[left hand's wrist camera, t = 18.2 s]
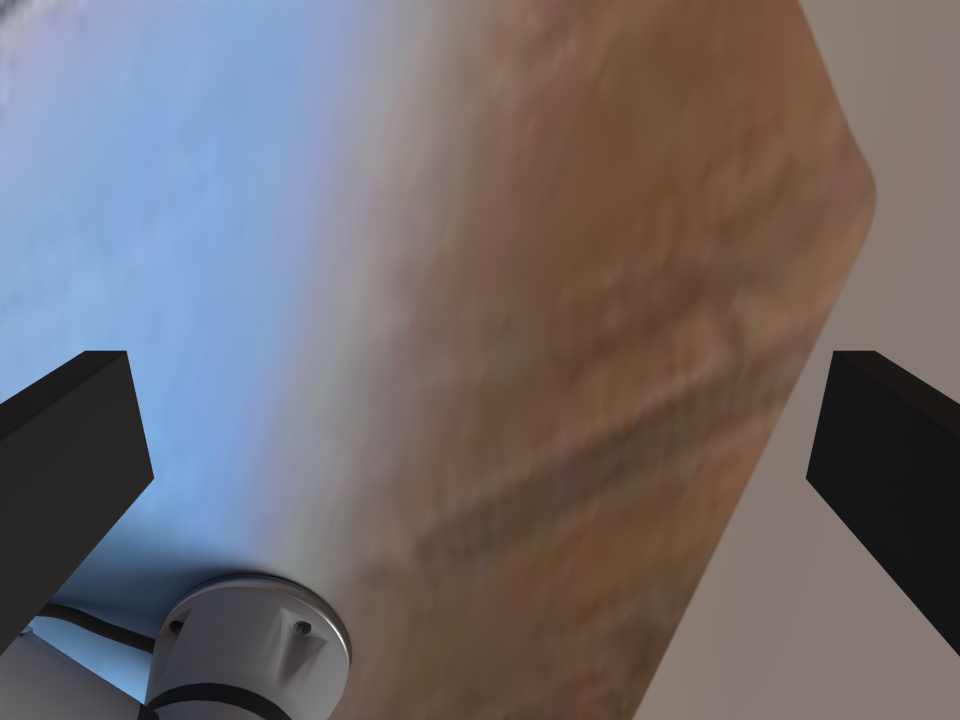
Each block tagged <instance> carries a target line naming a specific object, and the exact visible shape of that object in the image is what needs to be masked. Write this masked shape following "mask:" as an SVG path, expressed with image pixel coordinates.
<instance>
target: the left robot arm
mask: <svg viewBox="0 0 960 720" xmlns="http://www.w3.org/2000/svg"><path fill="white" fill-rule="evenodd" d="M153 479H154V475H153V471H152V466H151V461H150V457H149V452H148V448H147V443H146V438H145V434H144V429H143V425H142V420H141V415H140V411H139V406H138V402H137V397H136V392H135V388H134V383H133V379H132V374H131V369H130V365H129V360H128V356H127V351H84V352H82V353H81V354H79V355H78V356H76V357H74V358H73V359H71V360H70V361H68V362H66V363H65V364H63V365H62V366H60V367H59V368H57V369H55V370H54V371H52V372H51V373H49V374H47V375H46V376H44V377H43V378H41V379H40V380H38V381H36V382H35V383H33V384H32V385H30V386H28V387H27V388H25V389H24V390H22V391H20V392H19V393H17V394H16V395H14V396H13V397H11V398H9V399H8V400H6V401H5V402H3V403H1V404H0V720H327V719H328V717H329V716H330V714H331V713H332V711H333V709H334V708H335V706H336V705H337V703H338V702H339V700H340V698H341V696H342V693H343V691H344V689H345V686H346V684H347V680H348V675H349V671H350V667H351V662H352V647H351V641H350V638H349V635H348V632H347V630H346V628H345V626H344V624H343V622H342V621H341V619H340V618H339V617H338V615H337V614H336V613H335V612H334V611H333V609H332V608H331V607H330V606H329V605H328V604H326V603H325V602H324V601H323V600H322V599H320V598H319V597H318V596H316V595H315V594H313V593H312V592H310V591H308V590H306V589H305V588H303V587H301V586H298V585H296V584H294V583H291V582H289V581H286V580H282V579H279V578H275V577H270V576H265V575H256V574H236V575H228V576H223V577H218V578H215V579H212V580H209V581H206V582H204V583H201V584H199V585H198V586H196V587H194V588H192V589H191V590H189V591H188V592H187V593H185V594H184V595H183V596H182V597H181V598H180V599H179V600H178V601H177V602H176V604H175V605H174V606H173V608H172V609H171V611H170V612H169V614H168V616H167V617H166V619H165V621H164V623H163V624H162V626H161V629H160V631H159V634H158V636H157V639H156V640H155V639H152V638H149V637H147V636H144V635H141V634H138V633H135V632H132V631H129V630H127V629H124V628H121V627H118V626H115V625H112V624H110V623H107V622H105V621H102V620H100V619H98V618H96V617H93V616H91V615H89V614H87V613H85V612H82V611H80V610H77V609H74V608H71V607H67V606H63V605H57V604H46V603H47V602H48V601H49V600H50V598H51V597H52V596H53V595H54V594H55V593H56V592H57V590H58V589H59V588H60V587H61V586H62V585H63V583H64V582H65V581H66V580H67V579H68V578H69V577H70V575H71V574H72V573H73V572H74V571H75V570H76V568H77V567H78V566H79V565H80V564H81V563H82V561H83V560H84V559H85V558H86V557H87V556H88V555H89V553H90V552H91V551H92V550H93V549H94V548H95V546H96V545H97V544H98V543H99V542H100V541H101V540H102V538H103V537H104V536H105V535H106V534H107V533H108V531H109V530H110V529H111V528H112V527H113V526H114V524H115V523H116V522H117V521H118V520H119V519H120V518H121V516H122V515H123V514H124V513H125V512H126V511H127V509H128V508H129V507H130V506H131V505H132V504H133V503H134V501H135V500H136V499H137V498H138V497H139V496H140V494H141V493H142V492H143V491H144V490H145V489H146V487H147V486H148V485H149V484H150V483H151V482H152V481H153ZM806 479H807V481H808V482H809V483H810V484H811V485H812V486H813V487H814V489H815V490H816V491H817V492H818V493H819V494H820V496H821V497H822V498H823V499H824V500H825V501H826V502H827V504H828V505H829V506H830V507H831V508H832V509H833V511H834V512H835V513H836V514H837V515H838V516H839V517H840V519H841V520H842V521H843V522H844V523H845V524H846V526H847V527H848V528H849V529H850V530H851V531H852V533H853V534H854V535H855V536H856V537H857V538H858V539H859V541H860V542H861V543H862V544H863V545H864V546H865V548H866V549H867V550H868V551H869V552H870V553H871V555H872V556H873V557H874V558H875V559H876V560H877V561H878V563H879V564H880V565H881V566H882V567H883V568H884V570H885V571H886V572H887V573H888V574H889V575H890V577H891V578H892V579H893V580H894V581H895V582H896V583H897V585H898V586H899V587H900V588H901V589H902V590H903V592H904V593H905V594H906V595H907V596H908V597H909V598H910V600H911V601H912V602H913V603H914V604H915V605H916V607H917V608H918V609H919V610H920V611H921V612H922V614H923V615H924V616H925V617H926V618H927V619H928V620H929V622H930V623H931V624H932V625H933V626H934V627H935V629H936V630H937V631H938V632H939V633H940V634H941V635H942V637H943V638H944V639H945V640H946V641H947V642H948V643H949V645H950V646H951V647H952V648H953V649H954V650H955V652H956V653H957V654H958V655H959V656H960V404H959V403H957V402H955V401H954V400H952V399H951V398H949V397H947V396H946V395H944V394H943V393H941V392H940V391H938V390H936V389H935V388H933V387H932V386H930V385H928V384H927V383H925V382H924V381H922V380H920V379H919V378H917V377H916V376H914V375H913V374H911V373H909V372H908V371H906V370H905V369H903V368H901V367H900V366H898V365H897V364H895V363H894V362H892V361H890V360H889V359H887V358H886V357H884V356H882V355H881V354H879V353H878V352H876V351H833V356H832V360H831V365H830V370H829V374H828V379H827V383H826V388H825V392H824V397H823V402H822V406H821V411H820V415H819V420H818V425H817V429H816V434H815V438H814V443H813V448H812V452H811V457H810V461H809V466H808V471H807V475H806ZM35 616H45V617H53V618H58V619H62V620H66V621H68V622H71V623H74V624H76V625H78V626H80V627H82V628H85V629H87V630H89V631H91V632H93V633H96V634H98V635H101V636H104V637H106V638H109V639H112V640H115V641H117V642H120V643H123V644H126V645H129V646H132V647H135V648H137V649H140V650H143V651H146V652H149V653H152V654H153V657H152V662H151V668H150V674H149V680H148V685H147V691H146V697H145V703H144V705H143V704H142V703H140V702H139V701H138V700H136V699H135V698H133V697H132V696H130V695H128V694H127V693H125V692H124V691H122V690H120V689H119V688H117V687H116V686H114V685H112V684H111V683H109V682H108V681H106V680H104V679H103V678H101V677H100V676H98V675H96V674H95V673H93V672H92V671H90V670H89V669H87V668H86V667H84V666H83V665H81V664H79V663H78V662H76V661H75V660H73V659H72V658H70V657H69V656H67V655H66V654H64V653H63V652H61V651H60V650H58V649H57V648H55V647H54V646H52V645H50V644H49V643H47V642H46V641H44V640H43V639H41V638H40V637H38V636H37V635H35V634H34V633H32V632H33V629H32V628H30V627H29V626H27V625H28V624H29V623H30V622H31V620H32V619H33V618H34V617H35Z"/></svg>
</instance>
